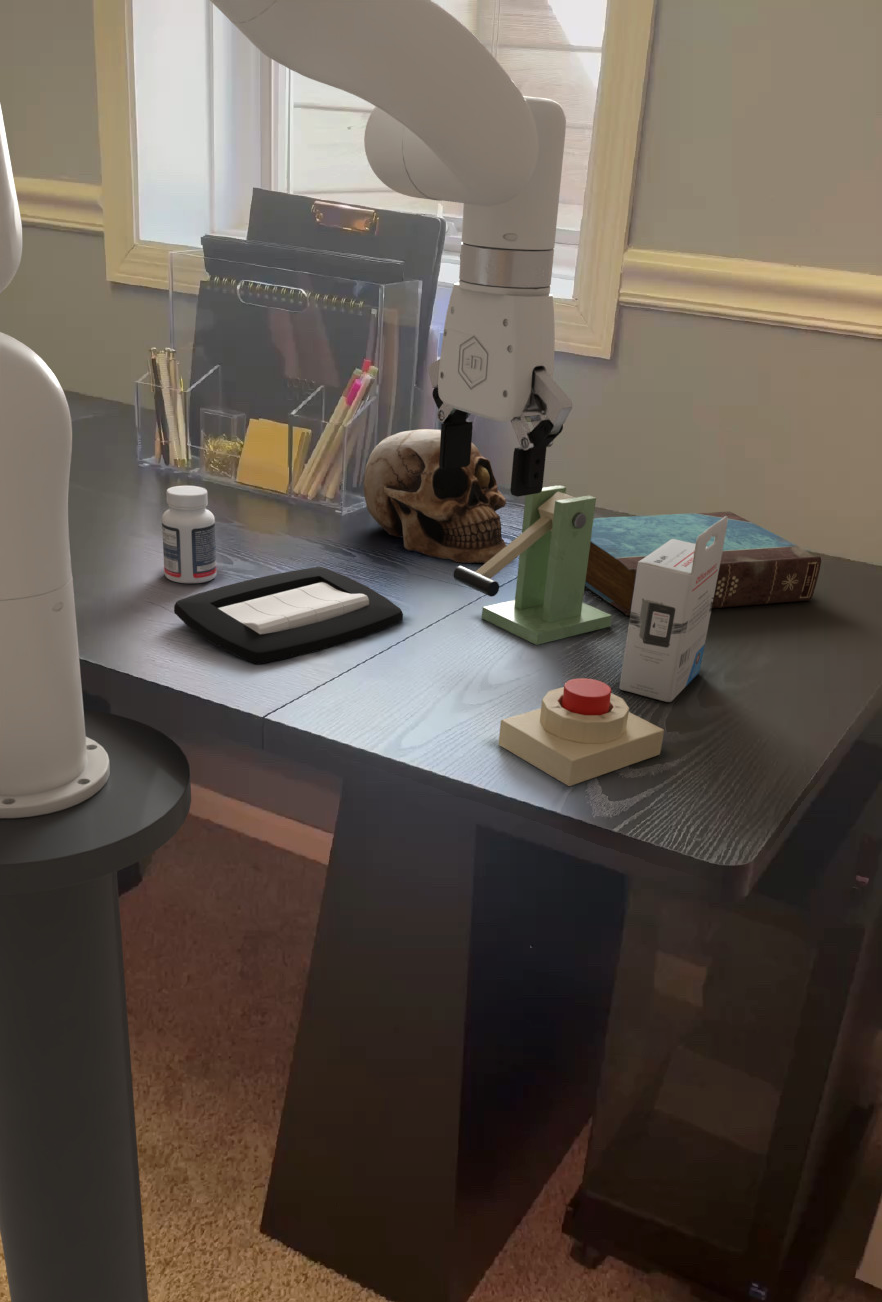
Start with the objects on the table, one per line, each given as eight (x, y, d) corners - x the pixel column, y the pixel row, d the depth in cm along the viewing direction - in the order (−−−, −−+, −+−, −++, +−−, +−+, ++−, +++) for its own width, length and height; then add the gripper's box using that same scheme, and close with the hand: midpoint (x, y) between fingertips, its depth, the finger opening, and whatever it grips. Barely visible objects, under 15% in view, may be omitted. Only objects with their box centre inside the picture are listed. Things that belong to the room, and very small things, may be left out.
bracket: (536, 645, 112) (551, 511, 106) (481, 618, 118) (492, 489, 112) (610, 626, 118) (628, 498, 112) (554, 601, 123) (569, 478, 117)
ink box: (650, 660, 111) (676, 503, 104) (701, 673, 109) (731, 514, 102) (616, 690, 104) (641, 524, 97) (669, 704, 102) (699, 536, 95)
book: (628, 617, 121) (636, 570, 118) (551, 562, 135) (556, 519, 132) (812, 602, 129) (822, 557, 126) (721, 551, 143) (728, 510, 141)
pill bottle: (219, 569, 125) (217, 484, 121) (213, 585, 121) (211, 498, 117) (167, 566, 125) (164, 482, 121) (160, 583, 120) (156, 496, 116)
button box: (568, 787, 88) (575, 738, 86) (497, 744, 93) (502, 698, 91) (660, 754, 94) (668, 708, 92) (588, 716, 99) (594, 672, 97)
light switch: (255, 650, 102) (159, 590, 109) (253, 680, 103) (159, 619, 111) (418, 603, 115) (323, 552, 122) (414, 630, 116) (320, 578, 124)
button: (584, 722, 90) (587, 700, 89) (552, 704, 92) (554, 683, 91) (618, 711, 92) (621, 690, 91) (585, 694, 94) (588, 674, 93)
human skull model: (508, 565, 132) (507, 441, 126) (354, 567, 134) (345, 444, 128) (514, 531, 146) (513, 418, 140) (374, 532, 148) (367, 421, 142)
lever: (491, 604, 109) (484, 583, 107) (456, 587, 112) (449, 567, 110) (590, 521, 112) (584, 500, 111) (553, 507, 116) (547, 487, 114)
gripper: (404, 258, 101) (396, 462, 109) (544, 285, 89) (523, 511, 97) (473, 258, 105) (459, 454, 113) (614, 283, 94) (588, 499, 102)
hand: (489, 480), depth 105 cm, fingers open, 9 cm apart
